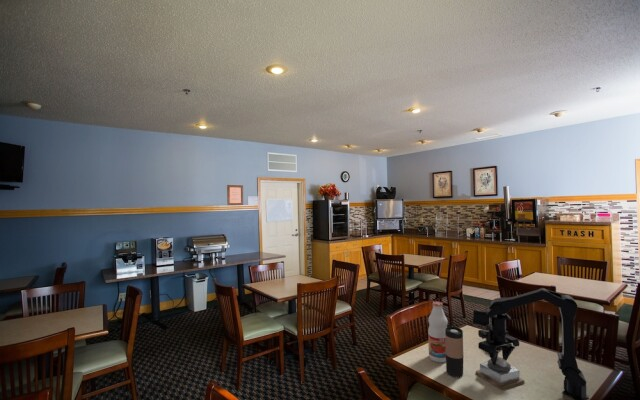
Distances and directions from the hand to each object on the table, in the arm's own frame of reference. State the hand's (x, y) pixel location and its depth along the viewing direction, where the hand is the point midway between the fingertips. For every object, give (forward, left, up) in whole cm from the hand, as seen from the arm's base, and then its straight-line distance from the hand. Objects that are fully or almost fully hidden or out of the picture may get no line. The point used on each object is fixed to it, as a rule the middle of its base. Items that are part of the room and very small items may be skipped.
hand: (499, 362), depth 146 cm
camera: (+23, -27, -7) cm, 37 cm away
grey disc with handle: (0, 0, -5) cm, 5 cm away
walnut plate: (0, 0, -7) cm, 7 cm away
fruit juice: (+25, +12, -7) cm, 29 cm away
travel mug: (+11, +15, -7) cm, 20 cm away
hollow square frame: (0, 0, -6) cm, 6 cm away
